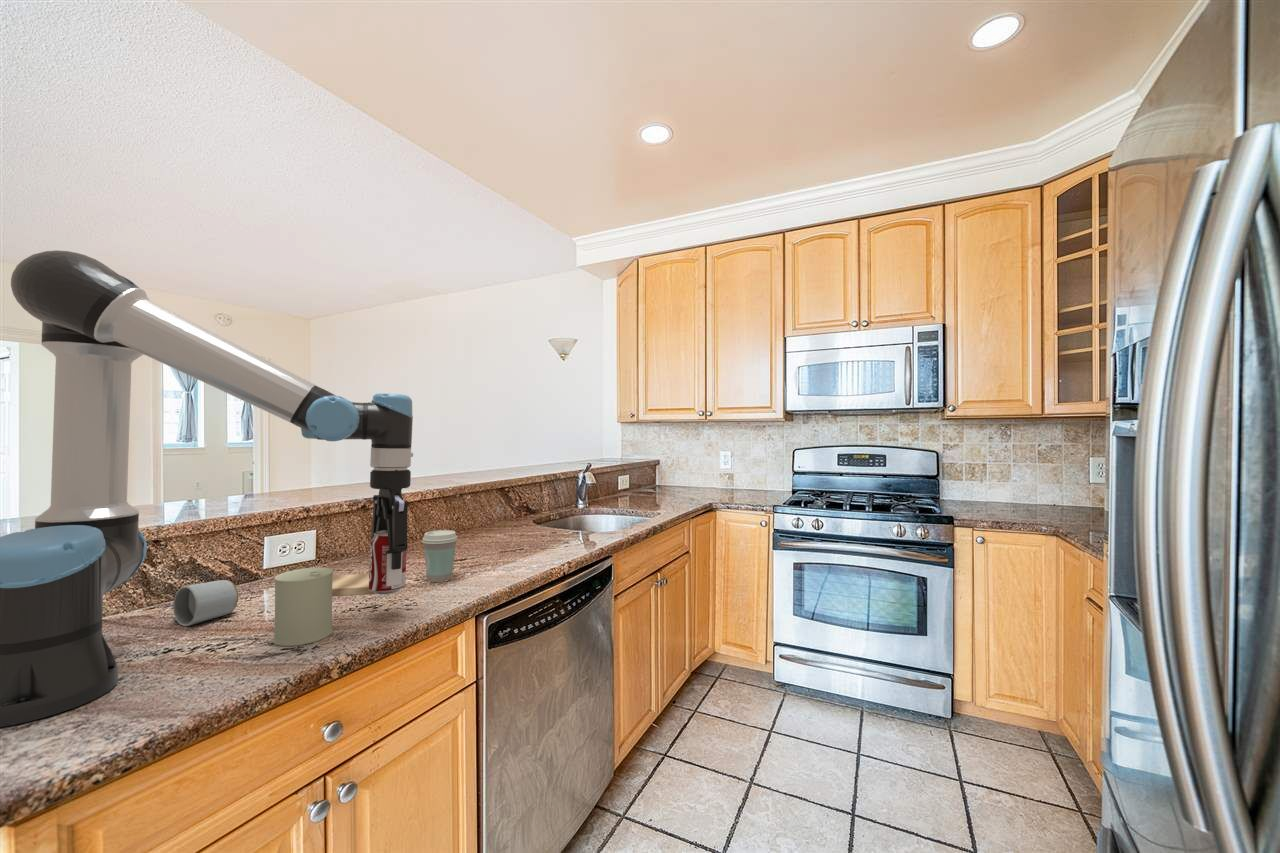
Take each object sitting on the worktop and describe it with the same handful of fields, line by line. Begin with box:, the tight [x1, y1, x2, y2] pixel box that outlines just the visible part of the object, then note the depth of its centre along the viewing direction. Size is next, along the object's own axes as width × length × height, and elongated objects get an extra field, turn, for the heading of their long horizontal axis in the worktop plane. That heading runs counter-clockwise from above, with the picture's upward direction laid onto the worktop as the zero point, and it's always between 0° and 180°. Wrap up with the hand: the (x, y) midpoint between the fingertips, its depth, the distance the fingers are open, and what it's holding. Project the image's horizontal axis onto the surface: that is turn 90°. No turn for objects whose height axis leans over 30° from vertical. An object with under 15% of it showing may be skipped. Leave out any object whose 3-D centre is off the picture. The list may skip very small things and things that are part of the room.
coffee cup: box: [421, 529, 459, 583], centre depth 131 cm, size 8×8×12 cm
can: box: [272, 566, 334, 647], centre depth 95 cm, size 9×9×12 cm
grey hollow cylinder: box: [172, 579, 239, 627], centre depth 103 cm, size 11×8×8 cm
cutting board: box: [332, 573, 375, 597], centre depth 124 cm, size 16×12×2 cm
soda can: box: [368, 530, 407, 595], centre depth 105 cm, size 7×7×12 cm
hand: (387, 580), depth 105 cm, fingers closed on soda can, 7 cm apart
